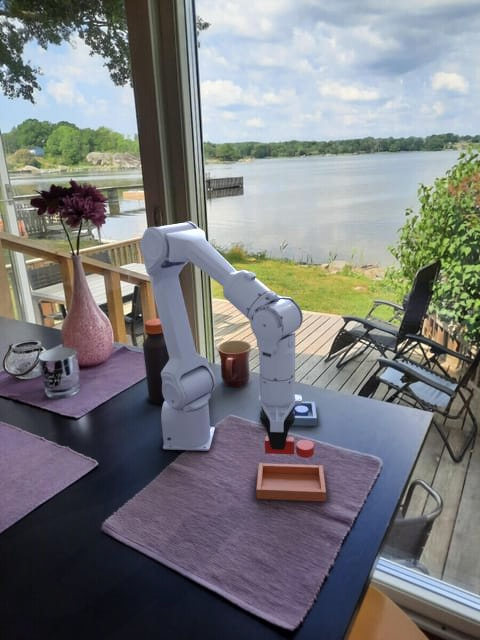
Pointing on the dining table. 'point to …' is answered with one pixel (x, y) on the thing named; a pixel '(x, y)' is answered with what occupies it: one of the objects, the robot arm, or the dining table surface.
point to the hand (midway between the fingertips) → (277, 444)
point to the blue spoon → (301, 411)
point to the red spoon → (292, 447)
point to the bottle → (155, 359)
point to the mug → (234, 363)
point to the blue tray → (306, 420)
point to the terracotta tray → (291, 482)
